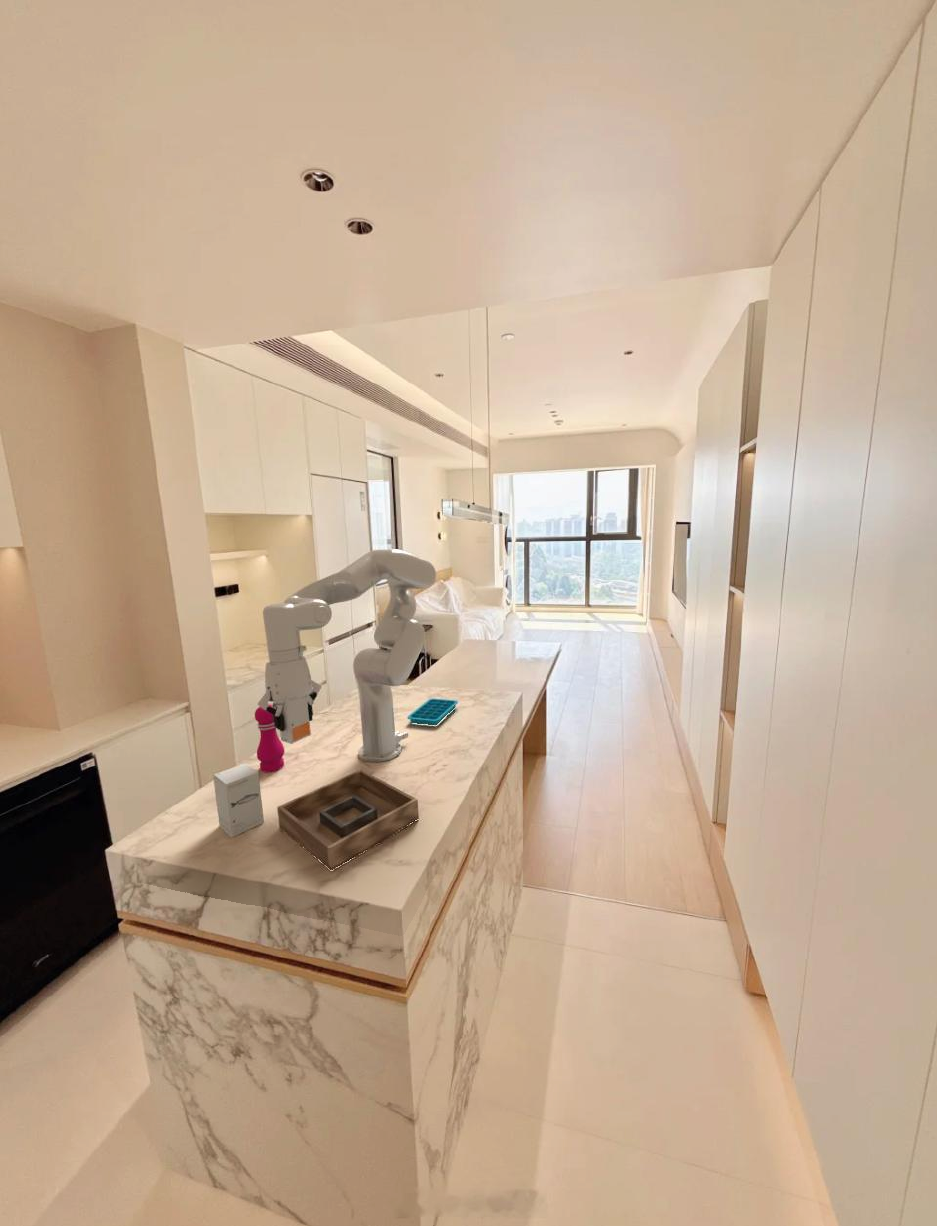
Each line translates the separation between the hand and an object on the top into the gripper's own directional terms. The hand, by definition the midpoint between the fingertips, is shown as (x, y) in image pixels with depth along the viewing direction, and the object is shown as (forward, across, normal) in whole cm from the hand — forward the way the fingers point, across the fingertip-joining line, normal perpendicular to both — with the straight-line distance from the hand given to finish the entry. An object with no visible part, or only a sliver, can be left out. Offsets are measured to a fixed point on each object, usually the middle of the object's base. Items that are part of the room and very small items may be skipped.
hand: (294, 723), depth 118 cm
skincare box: (+4, 0, 0) cm, 4 cm away
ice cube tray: (+21, -56, -12) cm, 61 cm away
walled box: (+18, 0, +21) cm, 28 cm away
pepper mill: (+19, -1, -20) cm, 27 cm away
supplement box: (+18, +16, +2) cm, 24 cm away
